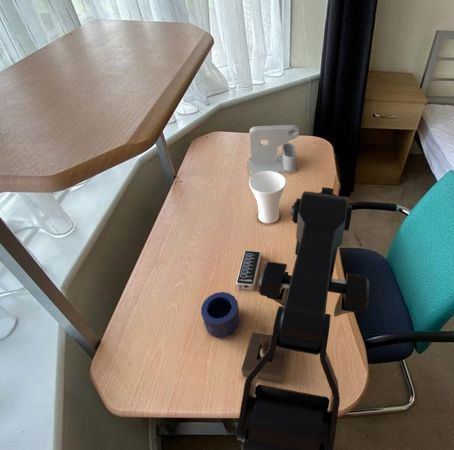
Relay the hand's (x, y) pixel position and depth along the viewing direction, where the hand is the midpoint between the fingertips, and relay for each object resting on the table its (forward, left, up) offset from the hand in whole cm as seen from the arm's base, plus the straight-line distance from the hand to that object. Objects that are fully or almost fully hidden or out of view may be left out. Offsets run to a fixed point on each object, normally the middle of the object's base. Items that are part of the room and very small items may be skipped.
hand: (311, 310), depth 62 cm
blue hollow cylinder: (+2, +20, -14) cm, 25 cm away
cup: (+39, +18, -14) cm, 45 cm away
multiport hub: (+17, +18, -14) cm, 28 cm away
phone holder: (+66, +23, -14) cm, 71 cm away
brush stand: (-5, +8, -14) cm, 17 cm away
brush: (-5, +8, -14) cm, 17 cm away
